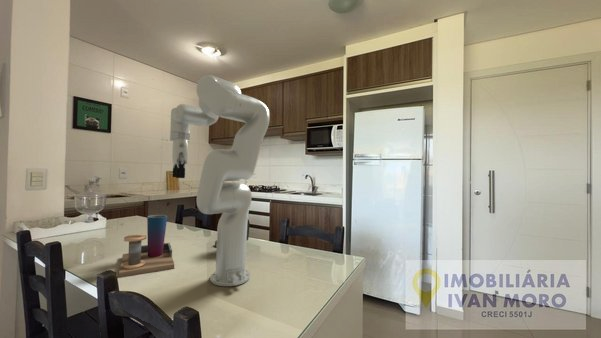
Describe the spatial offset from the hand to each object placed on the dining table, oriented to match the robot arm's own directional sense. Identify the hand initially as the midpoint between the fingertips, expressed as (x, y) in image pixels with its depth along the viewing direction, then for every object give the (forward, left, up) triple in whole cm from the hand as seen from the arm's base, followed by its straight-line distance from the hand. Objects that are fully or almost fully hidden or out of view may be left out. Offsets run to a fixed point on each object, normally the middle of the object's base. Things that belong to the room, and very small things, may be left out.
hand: (178, 177), depth 106 cm
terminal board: (-9, +10, -32) cm, 34 cm away
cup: (-6, +8, -30) cm, 32 cm away
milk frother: (-5, -22, -32) cm, 39 cm away
